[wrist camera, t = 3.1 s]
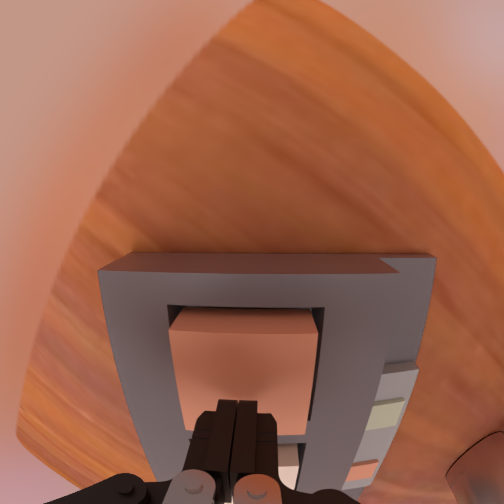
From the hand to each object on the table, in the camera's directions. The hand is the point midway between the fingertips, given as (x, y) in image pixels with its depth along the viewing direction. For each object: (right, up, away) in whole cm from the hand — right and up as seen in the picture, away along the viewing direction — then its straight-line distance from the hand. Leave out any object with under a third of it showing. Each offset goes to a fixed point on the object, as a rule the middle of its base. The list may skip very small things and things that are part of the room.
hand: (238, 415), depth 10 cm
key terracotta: (0, +1, +4) cm, 4 cm away
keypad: (+2, -7, +9) cm, 12 cm away
